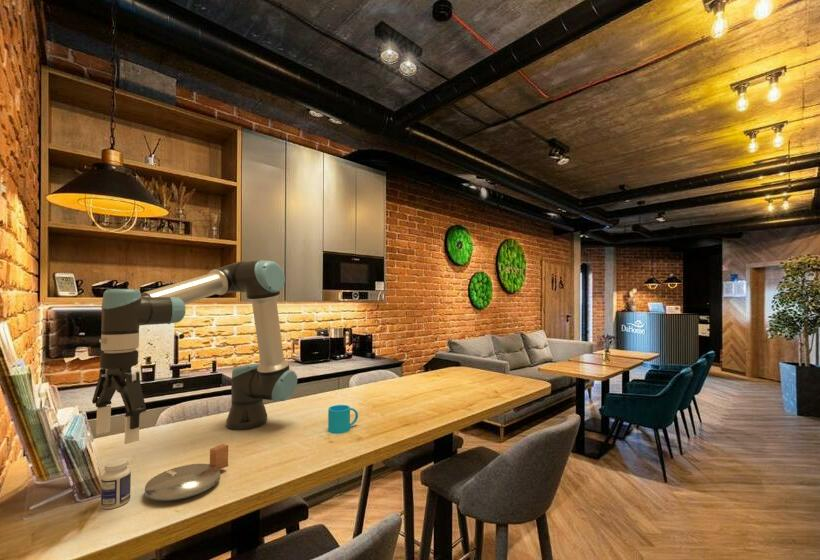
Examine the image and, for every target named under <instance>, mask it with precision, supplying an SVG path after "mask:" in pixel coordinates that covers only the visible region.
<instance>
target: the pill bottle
mask: <svg viewBox="0 0 820 560" xmlns="http://www.w3.org/2000/svg"><path fill="white" fill-rule="evenodd" d="M129 465H130V464H129V459H128V458H125V457H124V458H116V459H112V460H110V461H108V462H106V463H105V464H104V466H103V470H104V471H105V472H104V473H103V474H102V476H101V477H100V479H101V480H100V483H101V485H100V486H101V487H100V488H101V489H100V490H101V491H100V507H101V508H102V509H103V510H111V509H115V508H116V509H117V508H119V507H122V506H123V505H125V504H126V503H128V502H129V501H130V500H131V481H132V480H131V477H132V475H131V473H132V472H131V469H130V468H129V467H128V466H129Z"/></svg>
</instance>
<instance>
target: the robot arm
mask: <svg viewBox="0 0 820 560" xmlns="http://www.w3.org/2000/svg"><path fill="white" fill-rule="evenodd" d="M285 282H286V277H285V273H284V270H283V267H281V265H279V264H278V263H277V262H275V261H273V260H265V259H264V260H261V259H260V260H251V261H238V262H237V261H236V262H233V263H230V264H227V265H224V266H221V267H217V268H214V269H211V270H210V271H208V273H206V274H204V275H201V276H196V277H193V278H190V279H186V280H183V281H180V282H179V281H178V282H176V283H171V284H168V285H166V286H165V285H164V286H161V287H158V288H155V289H154V288H153V289H151V290H147V291H144V292H141V291H140V289H136V288H135V289H133V288H108V289H106V290H105V291H104V292H103V296H102V303H101V306H100V308H101V333H100V334H101V336H100V339H99V340H98V341H99V344H100V351H103V352H101V354H99V355H100V356H99V367H100V369H99V374H98V379H97V384H96V387H95V390H94V393H93V397H92V399H91V403H92V404H93V405H95V408H96V422H95V423H96V429H95V434H96V435H102V434H105V433H108V432H109V433H110V432H111V417H112V414H111V413H112V404H113V403H112V399H113V397H114V395H115V392H116V393H118V394H119V395H120V396H121V399H122V401H123V404H124V408H125V410H126V413H125V415H124V417H125V420H124V445H129V444H132V443H134V442H138V441H139V440H140V415H141V414H142V413H144V412H146V411H147V406H146V401H145V397H144V393H143V389H142V384H141V377H140V371H133V372H132V368H133V367H135V366H137V365H138V363H139V351H138V350H137V349H139V346H140V326H151V325H166V324H167V325H170V324H176V323H177V324H178V323H179V322H181V321H182V320H184V317H185V316H186V310H187V309H186V305H188V304H190V303H193V302H197V301H199V300H202V299H205V298H208V297H211V296H214V295H218V296H223V295H225V294H229V293H245V294H246V299H247V300H248V301H249V302H250V303H251V304H252V311H253V312H252V313H253V320H254V327H255V334H256V340H257V349H258V353H259V361H260V362H259V363H250V364H245V365H239V366H236V367H234V368H233V369H232V371H231V377H230V378H231V381H230V382H231V386H230V387H231V388H230V389H231V390H230V391H231V402H230V403H231V405H230V409H229V412H228V415H227V418H226V420H225V423H226V424H225V427H226V428H227V429H228V430H229V429H230V430H237V431H240V430H244V431H245V430H250V429H255V428H260V427H261V426H264V425H265V424H267V422H268V413H267V410H266V407H265V404H264V400H265V401H273V402H284V401H287V400H289V399H290V397H292V396H293V394H294V392H295V390H296V388H297V385H298V374H297V372H295V371H294V370H292V369H290V362H289V361H288V360H286V359H285V357H284V349H283V348H284V347H283V342H282V341H283V340H282V333H281V325H280V318H279V310H278V309H279V308H278V302H277V299H278V298H279V297H280V295H281V292H280V291H282V289H284V286H285V285H284V284H285Z"/></svg>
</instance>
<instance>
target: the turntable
mask: <svg viewBox="0 0 820 560" xmlns="http://www.w3.org/2000/svg"><path fill="white" fill-rule="evenodd" d="M226 467H229V445H228V444H224V443H221V444H219V445H217V446H214V447H211V448H210V449H209V463H193V464H187V465H186V464H185V465H182V466H178V467H174V468H171V469H168V470H166V471H163V472H161V473H158V474H157V475H155V476H154V477H152V478H151V479H149V480H148V481H147V483H146V484H145V485H144V487H145V488H144V495H145V497H146V498H147V499H148V500H151V501H154V502H155V501H156V502H174V501H173V500H176V501H180V500H179V499H182V500H185V499H184V498H186V499H188V498H187V497H190V498H191V496H192V497H194V495H195V496H196V495H199V494H202V493H204V492H206V491H207V490H210V489H211V488H213V487H214V486H215V485H216V484H217V483H218V482H219V481H220V480H221V470H222V469H224V468H226Z"/></svg>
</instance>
